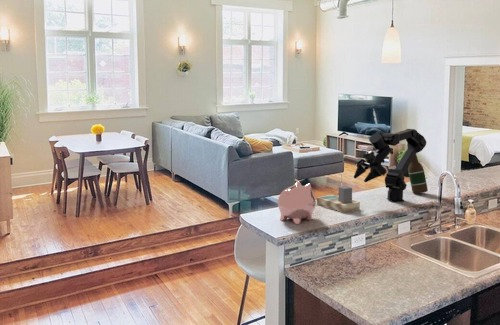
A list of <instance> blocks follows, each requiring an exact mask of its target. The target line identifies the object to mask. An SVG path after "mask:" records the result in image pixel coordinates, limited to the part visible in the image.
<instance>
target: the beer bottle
mask: <svg viewBox="0 0 500 325" xmlns="http://www.w3.org/2000/svg"><path fill="white" fill-rule="evenodd" d="M407 171H408V177H409V182H410V186H411V191H412V194H415V195H417V194H423V193H426V192H427V193H428V190H429V189H428V185H427V179H426V175H425V171H424V167H423V165H422V163H420V162H419V160H418V155H417V154H416V155H415V156H414V158H413V160H412V161H411V163H410V165H409V166H408V168H407Z"/></svg>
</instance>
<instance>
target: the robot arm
mask: <svg viewBox="0 0 500 325" xmlns="http://www.w3.org/2000/svg"><path fill="white" fill-rule="evenodd" d="M404 140H405V141H406V142H407V144H406V145H407V148H406V150H405V151H404V154H403V155H402V157H401V159H400V160H399V161H398V163H397V165H396V166H395V167H394V168H390V169H388V172H387V169H386V168H385V167H384V165H382V164H384V163H385V162H386V161H385V159H386V158H387V157H388V156H389V155H394V148H392V147H390V146H393V147H396V146H397V145H399V144H400V142H402V141H404ZM368 142H370V144H371V146H372V147H373V148H374V149H375V151H372V150H369V151H366V150H363V149H362V150H361V151H360V152H359V155H358V157H359V158H357V159H356V160H355V164H356V169H355V173H354V174H353V178H354V179H357V178H359V177H360V176H362V175H363V174H364V173H366V172H367V170H369V169H370V170H369V173H368V174H367V175H366V177H365V178H364V179H363V182H364V183H367V182H370V181H372V180H374V179H377V178H378V177H382V176H385V177H384V183H385V188H386V189H388V190H387V198H386V199H387V200H388V201H389V202H391V203H394V202H396V203H397V202H405V199H404V190H406V189H407V183H406V182H405V173H406V172H407V171H408V168H409V165H410V163H411V161H412V160H413V158H414V156H415V155H416V156H417V154H418V153H420V152H422V151H423V150H424V148H425V147H426V145H427V140H426V138H425V137H424V135H423V134H421V133H419V132H418V131H417V129H414V128H405V129H404V130H400V131H397V132H394V133H393V132H384V133H383V134H382V132H381V131H376V132H375V133H373V134H372V135H370V136H369V138H368Z"/></svg>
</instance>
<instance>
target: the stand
mask: <svg viewBox="0 0 500 325" xmlns="http://www.w3.org/2000/svg"><path fill="white" fill-rule="evenodd" d="M338 199H339V195H335V194H328V195H322V196H317V197H316V205H318V206H321V207H324V208H327V209H329V210H330V209H331V210H332V211H333V210H334V211H336V210H337V212H340V213H343V214H345V213H349V212H355V211H358V209H359V210H360V209H361V208H360V207H361V206H360V204H361V203H360V201H357V200H353V199H352V203H344V204H343V203H341V202H339V201H338Z"/></svg>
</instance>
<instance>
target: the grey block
mask: <svg viewBox="0 0 500 325" xmlns="http://www.w3.org/2000/svg"><path fill="white" fill-rule="evenodd" d="M338 196H339V199H338V201H339V202H341V203H343V204H344V203H352V200H353V187H350V186H349V185H344V186H338Z"/></svg>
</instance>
